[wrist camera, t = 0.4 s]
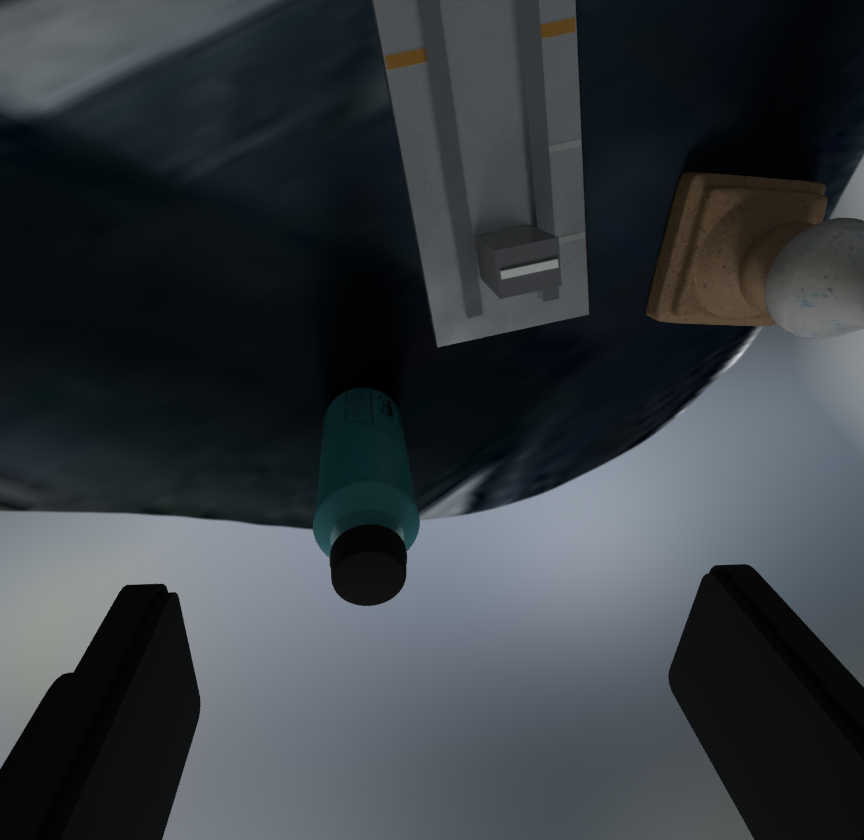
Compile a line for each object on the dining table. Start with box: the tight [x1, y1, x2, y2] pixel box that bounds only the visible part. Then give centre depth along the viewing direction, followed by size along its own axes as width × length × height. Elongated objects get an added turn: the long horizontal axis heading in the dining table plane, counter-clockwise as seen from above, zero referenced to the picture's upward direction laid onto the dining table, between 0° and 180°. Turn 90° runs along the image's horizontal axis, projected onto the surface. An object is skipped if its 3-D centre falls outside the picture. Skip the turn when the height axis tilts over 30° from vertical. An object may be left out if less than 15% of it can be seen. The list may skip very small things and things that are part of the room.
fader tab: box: [475, 225, 562, 299], centre depth 36 cm, size 4×3×6 cm
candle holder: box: [646, 172, 864, 338], centre depth 32 cm, size 11×11×24 cm
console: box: [371, 0, 589, 347], centre depth 35 cm, size 12×26×4 cm, turn 10°
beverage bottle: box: [313, 388, 420, 606], centre depth 36 cm, size 6×7×20 cm
